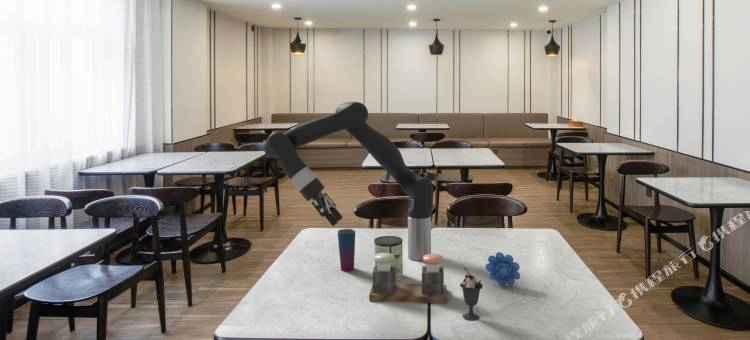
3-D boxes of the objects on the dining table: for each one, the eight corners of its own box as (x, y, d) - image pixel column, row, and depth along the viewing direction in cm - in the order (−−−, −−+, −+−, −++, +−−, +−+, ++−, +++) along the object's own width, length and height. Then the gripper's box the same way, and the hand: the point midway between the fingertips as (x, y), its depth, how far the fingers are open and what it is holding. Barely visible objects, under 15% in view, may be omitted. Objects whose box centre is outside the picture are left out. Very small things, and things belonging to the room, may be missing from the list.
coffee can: (381, 270, 199) (381, 234, 197) (407, 274, 194) (406, 237, 192) (370, 279, 190) (369, 241, 187) (396, 283, 185) (395, 244, 183)
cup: (353, 272, 197) (352, 233, 195) (336, 271, 198) (335, 233, 196) (358, 266, 203) (357, 229, 201) (341, 265, 205) (340, 228, 203)
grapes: (485, 289, 178) (486, 255, 176) (485, 282, 185) (485, 249, 183) (521, 291, 176) (522, 256, 174) (519, 283, 183) (520, 250, 181)
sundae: (457, 313, 160) (457, 265, 158) (478, 311, 160) (479, 264, 158) (462, 322, 153) (462, 273, 151) (485, 321, 154) (485, 272, 152)
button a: (373, 280, 171) (373, 258, 170) (375, 273, 178) (375, 252, 177) (393, 281, 171) (392, 259, 170) (394, 274, 177) (394, 252, 176)
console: (369, 300, 170) (368, 274, 169) (373, 288, 181) (372, 263, 180) (446, 303, 167) (446, 276, 166) (446, 290, 178) (446, 264, 177)
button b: (422, 281, 170) (422, 259, 168) (423, 275, 176) (423, 253, 175) (442, 282, 169) (442, 260, 168) (442, 275, 175) (442, 253, 174)
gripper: (311, 179, 166) (343, 218, 166) (320, 174, 180) (350, 211, 180) (293, 193, 167) (325, 233, 167) (304, 188, 181) (333, 224, 181)
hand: (338, 221), depth 174 cm, fingers open, 8 cm apart
